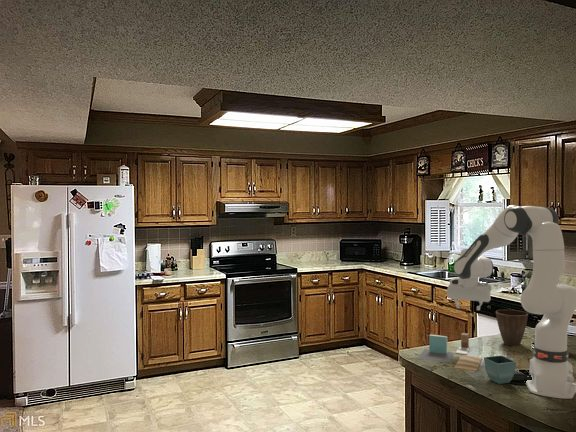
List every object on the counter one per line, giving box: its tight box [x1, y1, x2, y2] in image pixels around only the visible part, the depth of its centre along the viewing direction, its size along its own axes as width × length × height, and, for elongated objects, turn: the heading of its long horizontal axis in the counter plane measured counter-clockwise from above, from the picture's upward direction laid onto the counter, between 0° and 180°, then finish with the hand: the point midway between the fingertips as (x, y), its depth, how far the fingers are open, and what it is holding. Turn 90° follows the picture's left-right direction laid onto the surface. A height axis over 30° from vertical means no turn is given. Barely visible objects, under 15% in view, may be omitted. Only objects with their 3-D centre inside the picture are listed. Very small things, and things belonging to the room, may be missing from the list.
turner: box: [454, 332, 471, 356], centre depth 239 cm, size 15×5×7 cm, turn 153°
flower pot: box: [483, 355, 517, 385], centre depth 197 cm, size 9×9×9 cm
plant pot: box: [495, 309, 529, 347], centre depth 251 cm, size 15×15×16 cm
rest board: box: [454, 354, 483, 373], centre depth 219 cm, size 20×9×1 cm, turn 153°
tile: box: [428, 334, 448, 354], centre depth 235 cm, size 2×8×8 cm, turn 62°
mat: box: [417, 348, 455, 363], centre depth 231 cm, size 16×14×1 cm
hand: (468, 309), depth 243 cm, fingers open, 8 cm apart
